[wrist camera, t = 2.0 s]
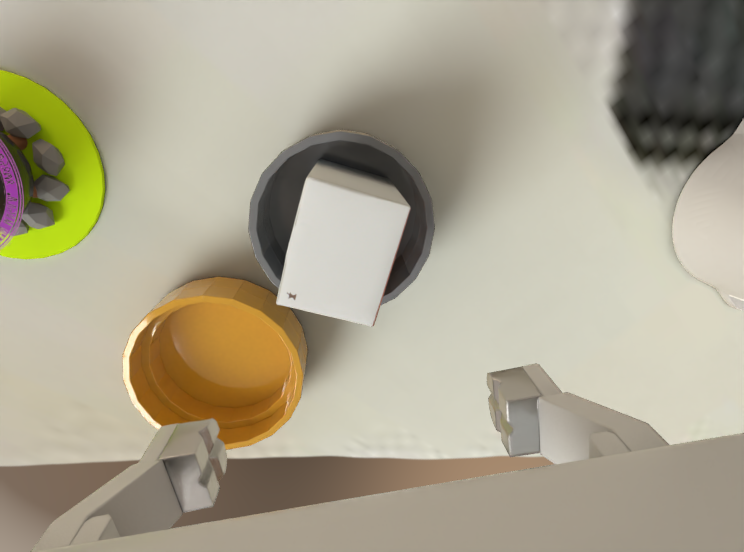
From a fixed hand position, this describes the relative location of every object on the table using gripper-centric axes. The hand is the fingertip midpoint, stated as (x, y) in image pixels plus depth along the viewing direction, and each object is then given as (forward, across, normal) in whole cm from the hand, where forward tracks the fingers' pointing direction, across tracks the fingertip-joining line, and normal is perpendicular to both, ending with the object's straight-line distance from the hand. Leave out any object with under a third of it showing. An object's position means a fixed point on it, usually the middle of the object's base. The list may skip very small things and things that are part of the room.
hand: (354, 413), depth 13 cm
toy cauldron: (+28, +26, -9) cm, 39 cm away
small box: (+27, 0, -1) cm, 27 cm away
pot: (+27, 0, -1) cm, 27 cm away
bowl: (+27, +13, +10) cm, 32 cm away
